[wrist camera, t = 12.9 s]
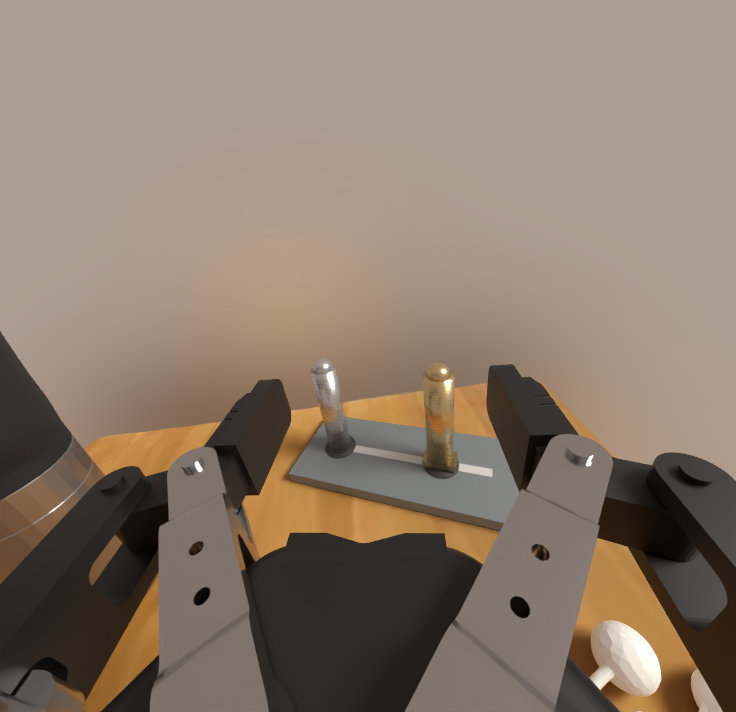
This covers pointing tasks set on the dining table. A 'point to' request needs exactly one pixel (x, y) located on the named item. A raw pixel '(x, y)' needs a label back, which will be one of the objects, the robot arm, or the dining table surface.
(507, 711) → the robot arm
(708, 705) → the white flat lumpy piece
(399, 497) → the board
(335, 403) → the fixed leg
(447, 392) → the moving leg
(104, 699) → the dining table surface
